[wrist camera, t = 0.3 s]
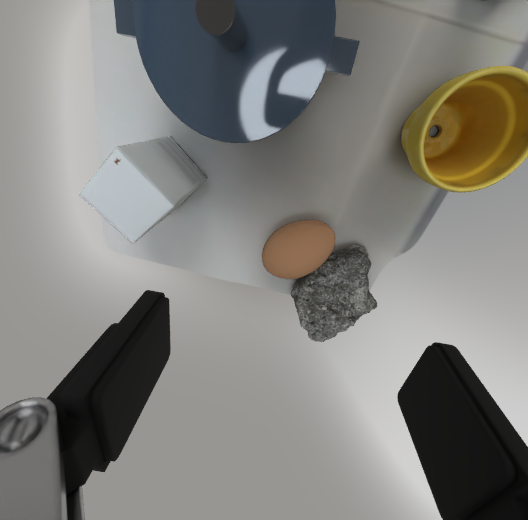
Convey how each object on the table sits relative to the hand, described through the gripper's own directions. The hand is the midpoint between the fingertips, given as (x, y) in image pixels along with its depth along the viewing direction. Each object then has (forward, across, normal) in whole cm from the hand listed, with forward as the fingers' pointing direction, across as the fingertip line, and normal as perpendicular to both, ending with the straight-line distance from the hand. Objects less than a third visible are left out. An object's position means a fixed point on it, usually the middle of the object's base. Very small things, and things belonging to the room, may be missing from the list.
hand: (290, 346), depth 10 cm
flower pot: (+31, -16, -8) cm, 35 cm away
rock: (+25, -7, +13) cm, 29 cm away
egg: (+27, +2, +12) cm, 29 cm away
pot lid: (+21, +8, -12) cm, 26 cm away
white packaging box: (+31, +16, +2) cm, 35 cm away
